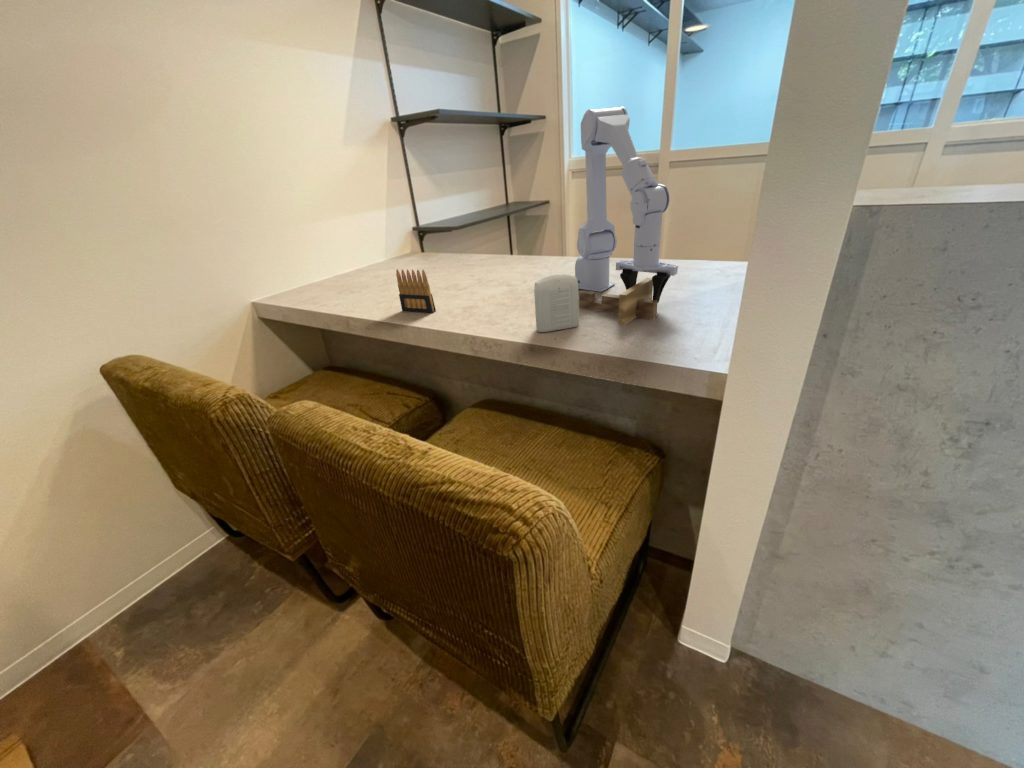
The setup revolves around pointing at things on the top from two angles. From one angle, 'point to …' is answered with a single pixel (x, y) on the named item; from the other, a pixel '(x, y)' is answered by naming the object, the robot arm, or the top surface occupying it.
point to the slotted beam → (616, 304)
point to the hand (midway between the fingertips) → (643, 301)
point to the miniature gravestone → (556, 303)
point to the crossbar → (633, 299)
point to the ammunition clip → (415, 292)
